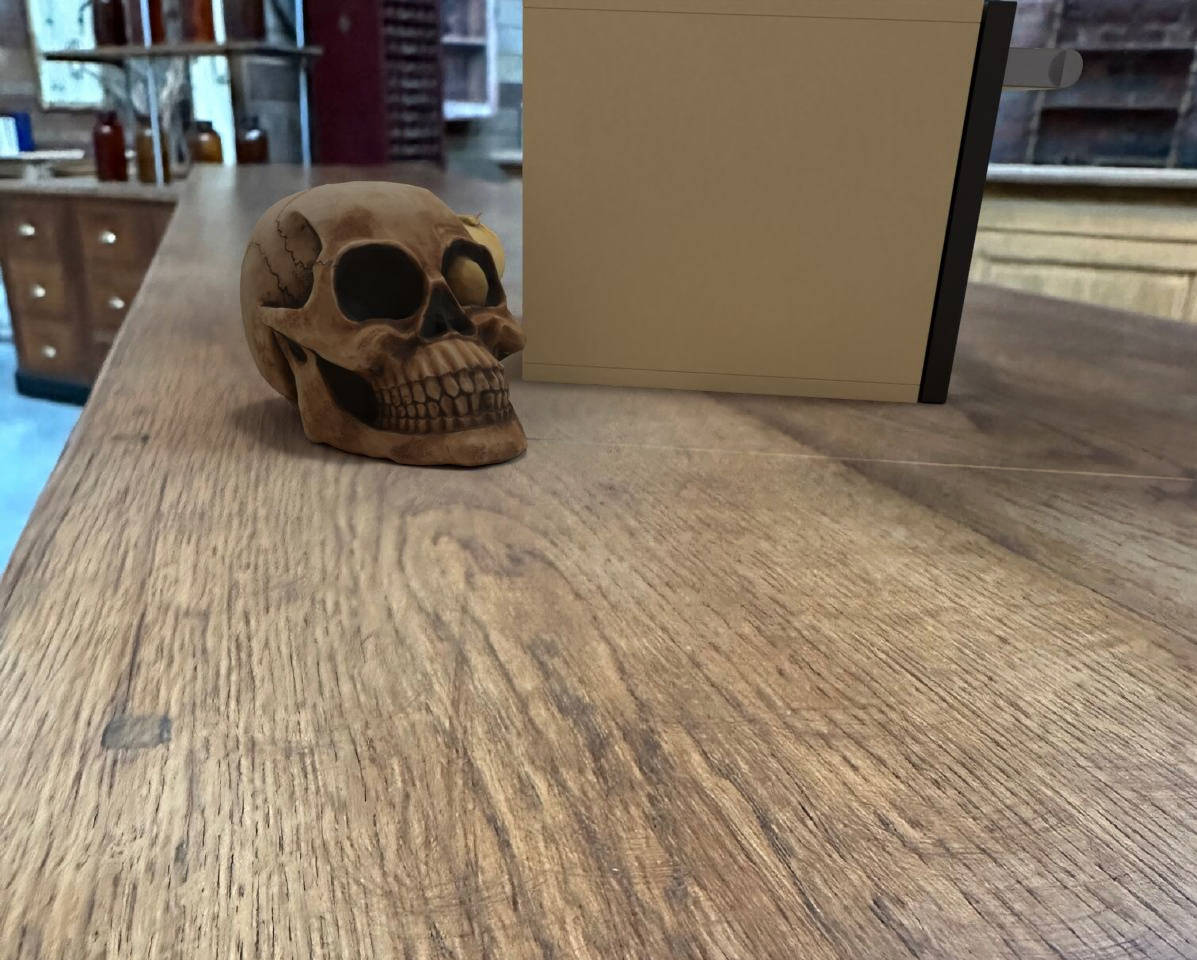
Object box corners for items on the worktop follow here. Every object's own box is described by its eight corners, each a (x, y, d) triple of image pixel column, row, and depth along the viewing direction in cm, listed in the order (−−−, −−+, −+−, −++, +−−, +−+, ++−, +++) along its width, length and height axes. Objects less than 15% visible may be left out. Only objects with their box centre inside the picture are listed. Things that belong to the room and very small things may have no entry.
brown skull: (506, 469, 59) (476, 168, 53) (194, 477, 63) (132, 195, 56) (574, 413, 73) (556, 168, 66) (314, 422, 76) (274, 190, 70)
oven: (875, 332, 100) (920, 25, 89) (916, 404, 77) (985, -4, 65) (574, 316, 102) (580, 14, 91) (522, 381, 78) (522, -18, 67)
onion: (407, 294, 111) (404, 210, 107) (444, 284, 117) (441, 204, 113) (486, 301, 108) (485, 215, 105) (518, 290, 115) (518, 209, 111)
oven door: (957, 335, 100) (1011, 30, 89) (1024, 408, 76) (1110, 4, 65) (879, 331, 100) (923, 27, 89) (921, 402, 76) (988, 0, 65)
